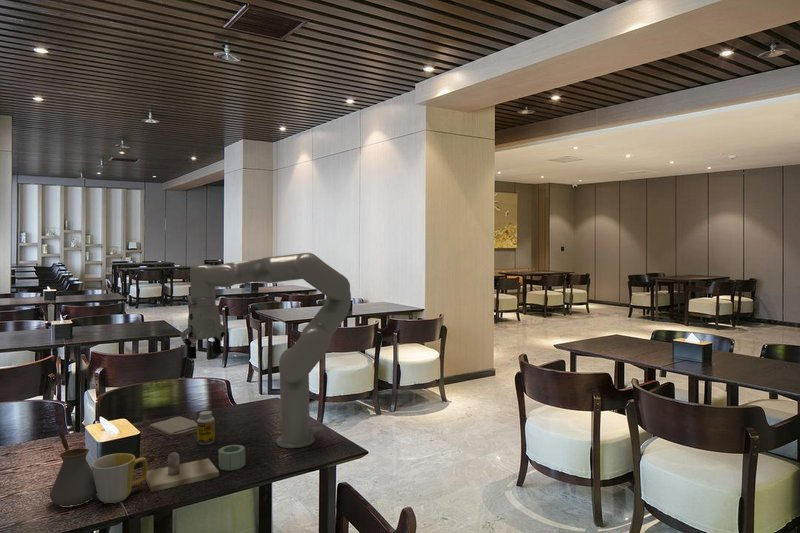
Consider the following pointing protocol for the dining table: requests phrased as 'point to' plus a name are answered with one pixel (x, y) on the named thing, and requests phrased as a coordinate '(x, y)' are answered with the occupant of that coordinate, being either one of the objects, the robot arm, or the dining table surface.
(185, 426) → the washcloth
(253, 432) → the dining table surface
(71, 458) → the coffee pot
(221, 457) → the collar
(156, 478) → the post board
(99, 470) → the mug
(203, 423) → the supplement bottle
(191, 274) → the robot arm
